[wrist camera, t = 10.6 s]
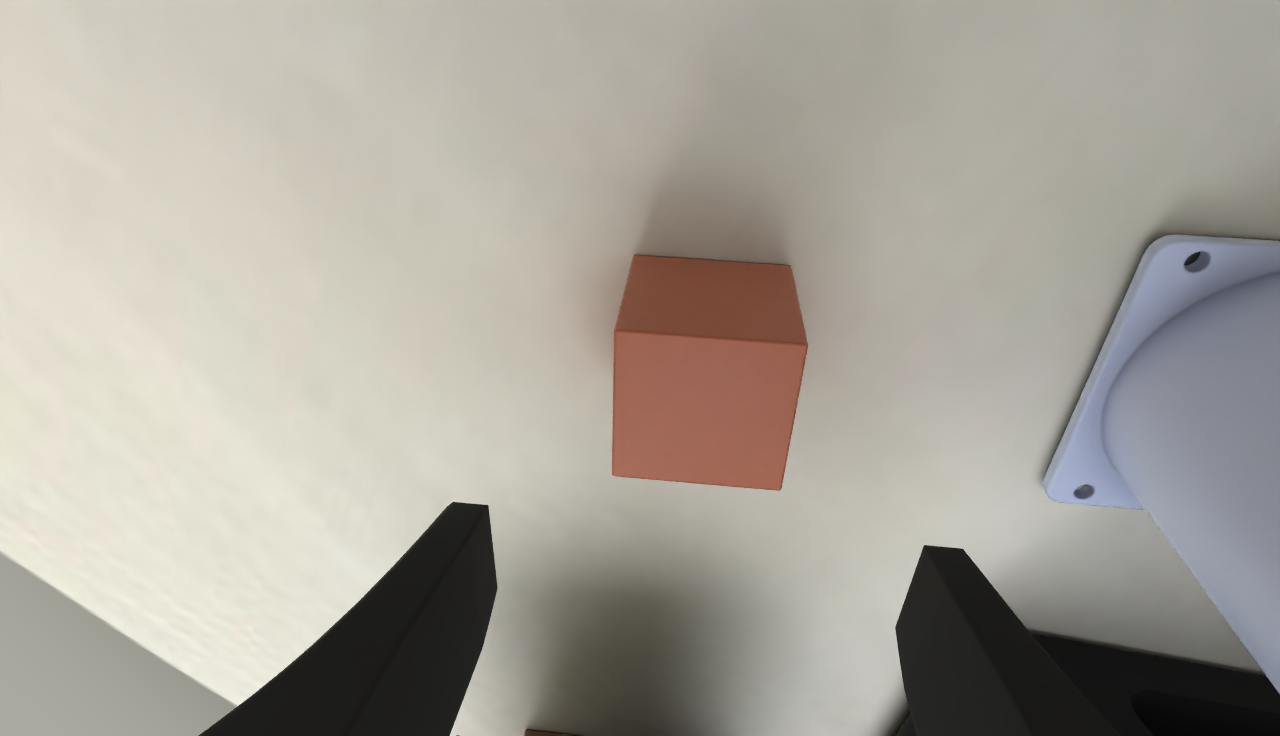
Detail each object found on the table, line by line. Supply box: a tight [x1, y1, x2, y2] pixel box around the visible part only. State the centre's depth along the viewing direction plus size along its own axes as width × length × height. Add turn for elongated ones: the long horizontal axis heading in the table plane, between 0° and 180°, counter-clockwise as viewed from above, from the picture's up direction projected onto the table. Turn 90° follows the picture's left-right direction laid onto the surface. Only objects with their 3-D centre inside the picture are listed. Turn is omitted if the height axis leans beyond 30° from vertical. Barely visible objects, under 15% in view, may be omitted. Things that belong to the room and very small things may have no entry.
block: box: [612, 255, 808, 491], centre depth 17 cm, size 4×4×4 cm
